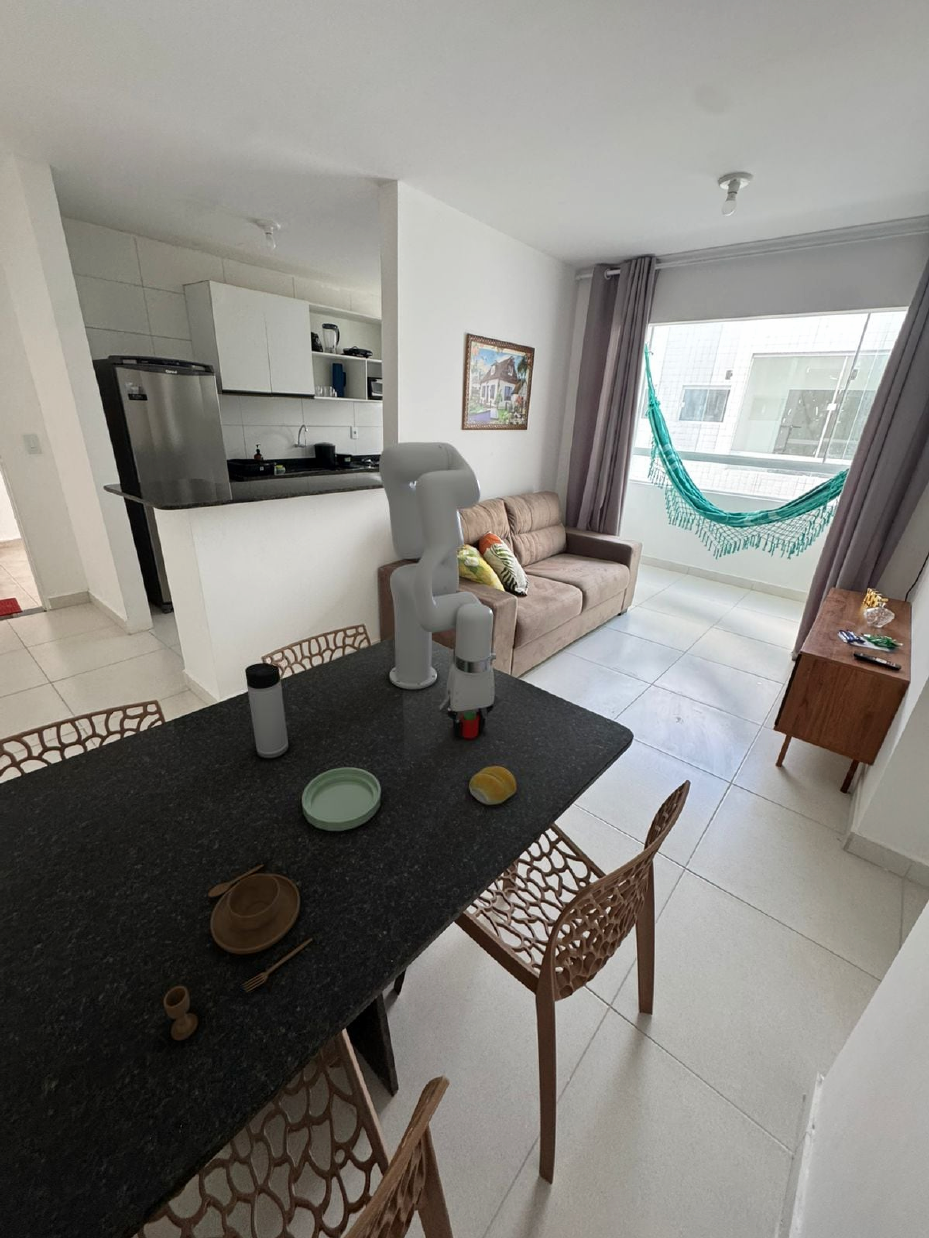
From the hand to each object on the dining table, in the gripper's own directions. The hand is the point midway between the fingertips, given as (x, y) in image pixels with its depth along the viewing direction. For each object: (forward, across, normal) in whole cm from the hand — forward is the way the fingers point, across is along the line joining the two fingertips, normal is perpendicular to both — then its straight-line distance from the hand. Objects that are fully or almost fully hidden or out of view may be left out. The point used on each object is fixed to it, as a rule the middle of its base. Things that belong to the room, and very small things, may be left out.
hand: (468, 730), depth 116 cm
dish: (0, +30, +14) cm, 33 cm away
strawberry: (0, 0, 0) cm, 0 cm away
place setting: (+1, +48, +35) cm, 59 cm away
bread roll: (+1, +2, +19) cm, 19 cm away
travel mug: (+1, +42, -6) cm, 42 cm away
